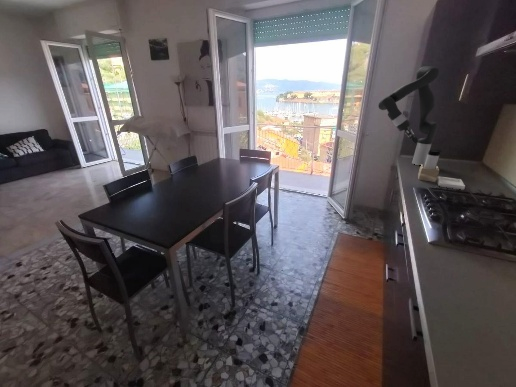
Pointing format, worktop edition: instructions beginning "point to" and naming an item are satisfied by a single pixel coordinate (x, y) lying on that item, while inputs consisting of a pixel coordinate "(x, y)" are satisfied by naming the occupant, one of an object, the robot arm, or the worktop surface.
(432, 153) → the travel mug
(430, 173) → the holder
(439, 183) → the tray
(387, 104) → the robot arm
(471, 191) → the worktop surface
